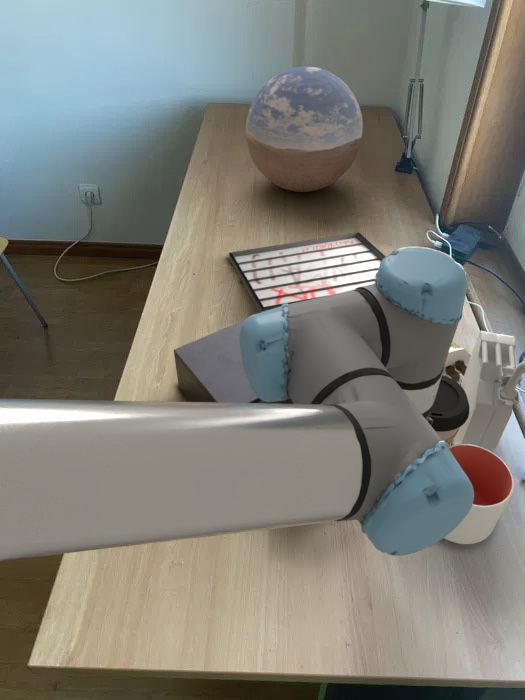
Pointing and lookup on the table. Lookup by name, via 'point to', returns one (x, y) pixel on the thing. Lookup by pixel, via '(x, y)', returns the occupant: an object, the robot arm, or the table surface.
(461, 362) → the figurine
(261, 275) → the shutter
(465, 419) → the coffee cup
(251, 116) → the sphere
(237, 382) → the cabinet
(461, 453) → the cup
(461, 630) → the table surface
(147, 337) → the table surface
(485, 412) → the jerry can
